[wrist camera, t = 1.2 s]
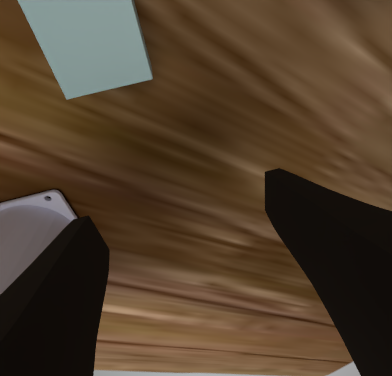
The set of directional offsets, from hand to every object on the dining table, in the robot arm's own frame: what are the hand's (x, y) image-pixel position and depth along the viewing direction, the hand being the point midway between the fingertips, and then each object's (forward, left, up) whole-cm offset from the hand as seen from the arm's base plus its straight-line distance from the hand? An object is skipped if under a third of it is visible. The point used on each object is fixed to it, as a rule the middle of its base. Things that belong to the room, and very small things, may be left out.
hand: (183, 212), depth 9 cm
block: (-2, +6, -10) cm, 12 cm away
